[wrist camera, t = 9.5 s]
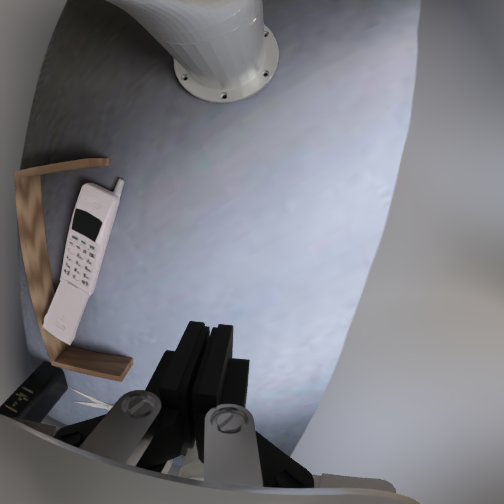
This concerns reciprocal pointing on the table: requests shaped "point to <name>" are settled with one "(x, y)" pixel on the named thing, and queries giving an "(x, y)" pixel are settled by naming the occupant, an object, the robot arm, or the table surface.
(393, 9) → the table surface
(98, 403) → the scissors
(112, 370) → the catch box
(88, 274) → the mobile phone
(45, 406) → the wine bottle
